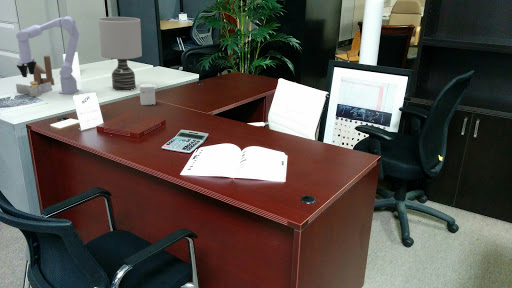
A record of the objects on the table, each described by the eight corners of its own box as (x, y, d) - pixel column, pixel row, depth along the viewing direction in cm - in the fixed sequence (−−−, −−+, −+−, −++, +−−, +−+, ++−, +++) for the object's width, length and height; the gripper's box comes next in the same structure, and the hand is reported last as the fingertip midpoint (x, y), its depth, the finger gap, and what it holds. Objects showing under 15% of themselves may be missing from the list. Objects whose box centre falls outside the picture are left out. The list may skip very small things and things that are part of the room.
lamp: (105, 83, 289) (99, 16, 273) (143, 83, 295) (139, 17, 279) (102, 93, 268) (96, 21, 252) (143, 92, 274) (140, 22, 258)
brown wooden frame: (36, 83, 281) (32, 55, 275) (54, 83, 283) (50, 55, 277) (34, 85, 278) (30, 56, 271) (52, 85, 280) (49, 56, 273)
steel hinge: (26, 88, 270) (24, 80, 269) (52, 89, 270) (51, 81, 268) (11, 95, 256) (9, 86, 254) (38, 96, 255) (37, 88, 253)
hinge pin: (34, 93, 260) (32, 81, 257) (40, 94, 260) (39, 81, 257) (30, 95, 257) (28, 82, 254) (36, 96, 256) (35, 83, 253)
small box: (154, 101, 257) (153, 84, 253) (155, 104, 252) (154, 86, 248) (140, 102, 255) (139, 84, 251) (141, 105, 250) (140, 87, 246)
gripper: (25, 49, 259) (28, 72, 264) (10, 53, 246) (14, 78, 251) (36, 50, 259) (39, 73, 264) (23, 54, 245) (26, 78, 250)
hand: (28, 75), depth 257 cm, fingers open, 7 cm apart
